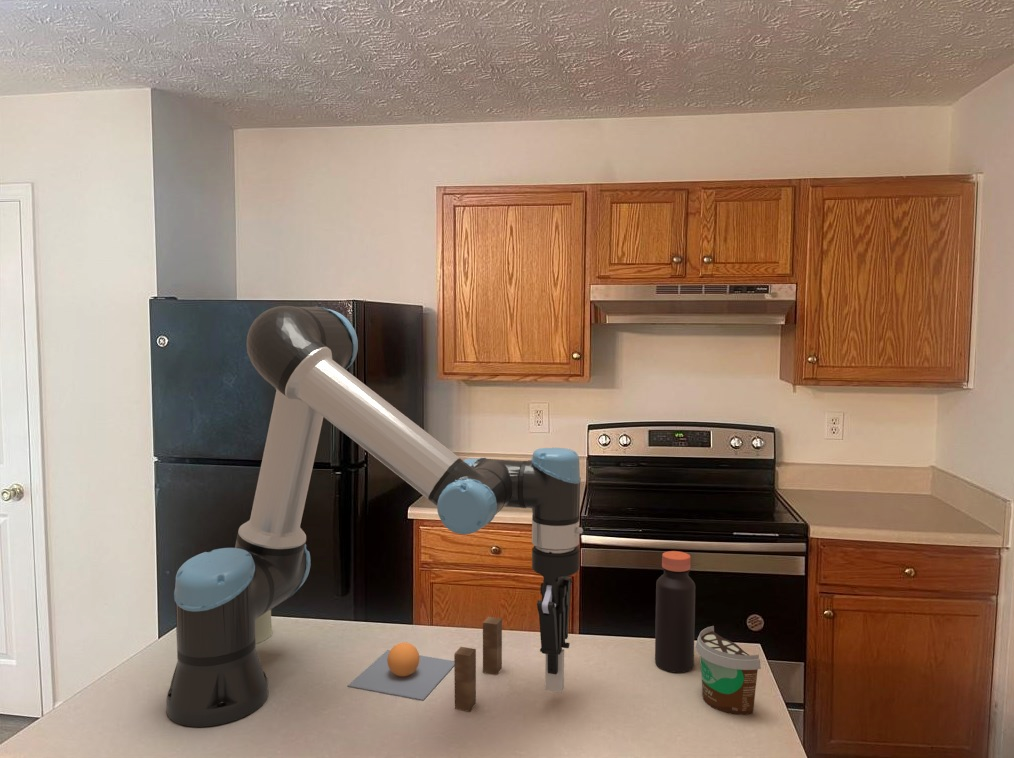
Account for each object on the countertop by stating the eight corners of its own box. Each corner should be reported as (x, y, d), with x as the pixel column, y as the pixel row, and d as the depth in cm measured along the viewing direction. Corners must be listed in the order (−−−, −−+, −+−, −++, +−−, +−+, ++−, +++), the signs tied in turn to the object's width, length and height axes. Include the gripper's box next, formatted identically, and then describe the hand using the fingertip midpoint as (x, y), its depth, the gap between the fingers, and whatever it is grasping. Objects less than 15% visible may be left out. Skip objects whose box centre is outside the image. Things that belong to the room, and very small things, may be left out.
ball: (389, 644, 122) (416, 662, 120) (403, 631, 127) (429, 648, 126) (376, 670, 123) (403, 688, 121) (391, 656, 128) (417, 674, 127)
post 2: (482, 672, 125) (482, 622, 125) (488, 665, 128) (488, 616, 127) (496, 674, 124) (496, 624, 124) (501, 668, 127) (501, 618, 126)
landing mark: (347, 686, 120) (347, 685, 120) (387, 651, 134) (387, 650, 134) (423, 700, 116) (423, 699, 116) (457, 662, 129) (457, 661, 129)
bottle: (698, 673, 125) (700, 561, 124) (659, 673, 125) (661, 561, 124) (688, 655, 132) (690, 549, 130) (651, 655, 132) (653, 549, 130)
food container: (679, 688, 120) (680, 630, 119) (710, 681, 122) (711, 624, 122) (726, 726, 109) (728, 662, 108) (759, 718, 111) (761, 655, 110)
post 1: (454, 708, 113) (454, 653, 113) (460, 700, 116) (460, 646, 115) (469, 711, 113) (469, 656, 112) (475, 703, 115) (475, 649, 114)
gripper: (568, 561, 107) (567, 713, 108) (587, 537, 119) (586, 674, 121) (520, 555, 109) (520, 705, 111) (544, 532, 121) (543, 667, 123)
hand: (554, 689), depth 116 cm, fingers closed
